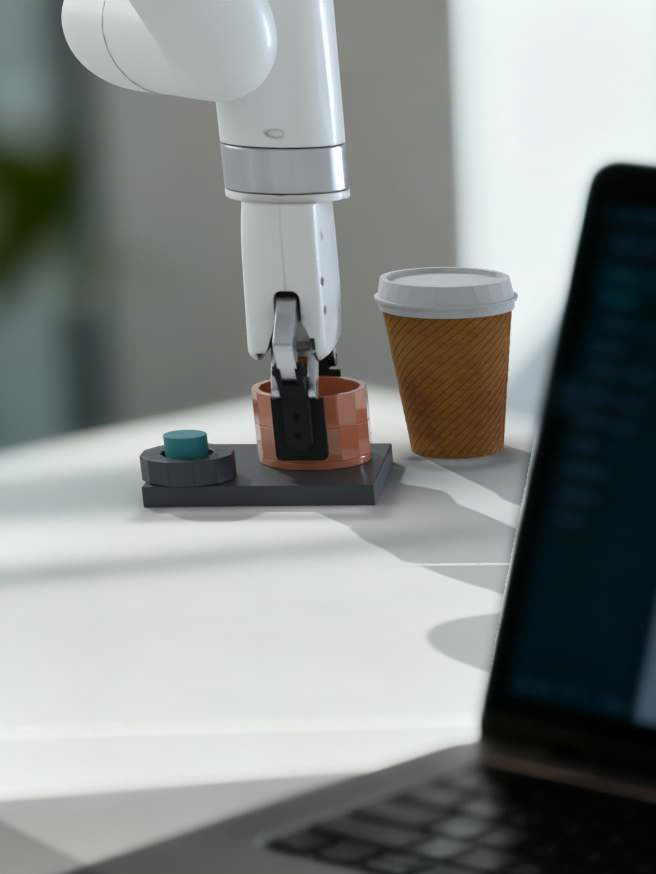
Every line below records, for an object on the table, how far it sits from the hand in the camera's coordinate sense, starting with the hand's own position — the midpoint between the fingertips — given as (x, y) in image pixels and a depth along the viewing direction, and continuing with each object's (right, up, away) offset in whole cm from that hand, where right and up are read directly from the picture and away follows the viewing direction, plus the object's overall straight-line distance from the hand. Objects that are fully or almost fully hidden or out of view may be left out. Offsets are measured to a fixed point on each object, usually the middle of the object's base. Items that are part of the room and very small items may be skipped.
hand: (312, 442), depth 157 cm
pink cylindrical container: (0, -1, 0) cm, 1 cm away
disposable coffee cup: (+7, +1, +10) cm, 12 cm away
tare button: (-6, -2, -6) cm, 8 cm away
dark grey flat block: (-2, -3, -1) cm, 4 cm away
